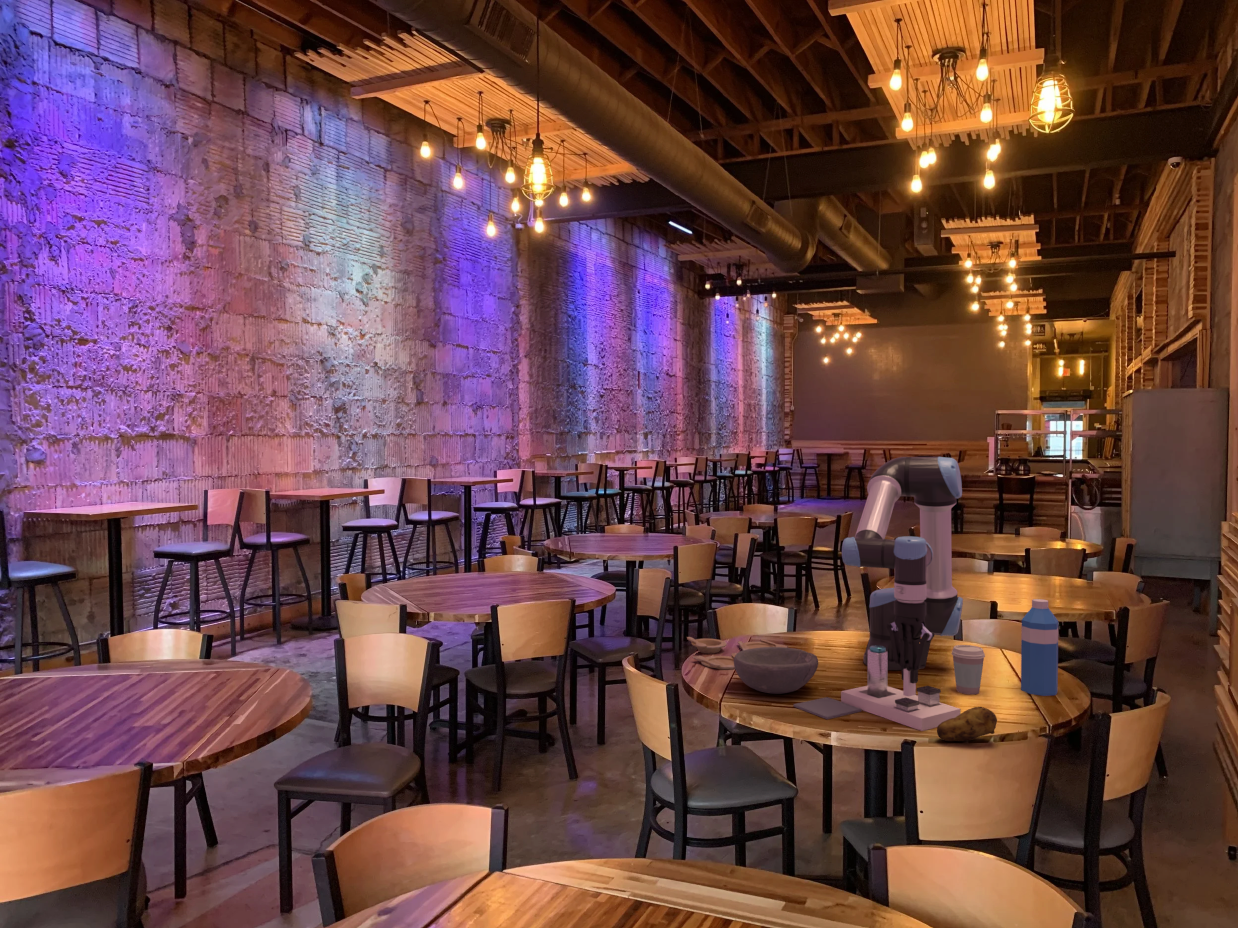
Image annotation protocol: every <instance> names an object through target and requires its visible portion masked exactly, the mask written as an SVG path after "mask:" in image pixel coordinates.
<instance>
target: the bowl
mask: <svg viewBox="0 0 1238 928" xmlns="http://www.w3.org/2000/svg"><path fill="white" fill-rule="evenodd" d="M736 653H737V654H736V655H735V657H734V667H735V669H734V670H735V672H736V675H738V677H739V679H740V680H741V681H742V682H743V683H744V684H745V685H746V686H748V687H750V688H751V689H753V690H756V691H758V692H761V693H766V694H774V695H775V694H776V695H777V694H779V695H782V694H789V693H792V692H796V691H798V690H799V689H801V688H803V686H805V685H806V684H808V683H809V681H810V680H811V679H812V678H813V676H814V675H815V673H817V670H818V668H819V659H818V656H817V655H815V654H814V653H811V652H808V651H806V650H803V649H799V648H792V647H787V648H785V647H761V648H753V649H747V650H741V651H738V652H736Z"/></svg>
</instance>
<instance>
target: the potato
mask: <svg viewBox="0 0 1238 928" xmlns="http://www.w3.org/2000/svg"><path fill="white" fill-rule="evenodd" d="M997 722H998V718H997V716H996V714H995V713H994V712H993V711H992V710H990V709H989V708H986V707H983V706H974V707H971V708H969V709H966V710H965V711H963V712H960V715H958V716H957V717H955V718H951V719H948V720H946V721H944V722H942V723H941V724H939V725H938V727H936V733H937V736H938V737H939V738H940V739H941V740H942V741H944V742H949V743H950V742H968V741H972V740H975V739H977V738H980V737H983V736H986V735H994V734H995V729H996V727H997Z"/></svg>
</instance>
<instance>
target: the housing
mask: <svg viewBox="0 0 1238 928" xmlns="http://www.w3.org/2000/svg"><path fill="white" fill-rule="evenodd" d="M901 698H909V699H913V700H916V701H918V694H916V695H913V696H909V697H908V696H905V695H903V690H901V689H898V688H895V687H892V686H889V685H887V697H882V698H876V697H873V696H870V695H867V685H865V686H859V687H856V688H855V687H854V688H850V689H845V690H842V691H840V702H843V703H846V704H849V705H851V706H854V707H857V708H860V709H861V711H863V712H866V713H870V714H873V715H875V716H878V717H881V718H883V719H884V718H885V719H886V720H890V721H893V722H895V723H898V724H901V725H903V726H905V727H906V726H907V727H910V728H912V729H915V730H918V731H921V732H923V731H927V730H931V729H935V728H937V727H938V725H939V724H941V723H942V722H944V721H946V720H948V719H951V718H955V717H957V716H958V715H960V714H961V708H959V707H955V706H952V705H949V704H946V703H943V702H940V701H939V703H937V704H933V705H928V704H924V703H921V702H919V705H918V710H917V711H913V712H909V713H908V712H905V711H902V710H899V709H896V703H895V700H897V699H901Z"/></svg>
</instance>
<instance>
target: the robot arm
mask: <svg viewBox="0 0 1238 928" xmlns="http://www.w3.org/2000/svg"><path fill="white" fill-rule="evenodd" d="M962 482H963V481H962V475H961V470H960V466H959V462H958V461H957V460H956V459H955V458H954V457H944V456H943V457H942V456H898V457H896V458H893V459H890V460H888V461H887V462H885V463H884V464H882V465H880V466H879V467H878V468H876V470H875V471H874V472H873V474H871V477H870V478H869V480H868V484H867V486H866V487H867V488H866V489H867V494H868V495H867V498H866V501H865V505H864V508H863V510H862V514H861V517H860V520H859V522H858V525H857V529H856V532H855V535H854V536H851V537H845V538H844V539H843V542H842V546H841V558H842V562H843V564H844V565H847V566H850V567H858V568H877V569H879V568H880V569H890V570H891V569H892V570H894V578H893V579H894V581H893V582H894V583H893V585H894V587H887V588H886V587H885V588H881V589H877V590H874V591H872V592H871V594H870V596H869V605H868V607H869V639H868V642H867V645H866V648H865V651H864V653H863V664H864V665H866V666H868V650H869V649H870V646H875V645H876V646H883V647H886V651H888V671H901V680H902V682H903V683H902V684H903V690H902V691H903V695H905V696H908V697H909V696H913V695H917V693H916V692H917V683H918V682H919V670H921V669H925V668H926V664H927V661H928V656H929V651H930V647H931V643H932V640H933V639H934V637H935V636H940V637H943V636H946V637H947V636H948V637H953V636H956V635H957V634H958V632H959V629H960V624H961V617H962V611H963V604H964V603H963V602H964V599H963V597H961V596H958V590H957V589H956V588H955V587H954V586H953V576H952V575H953V572H952V571H953V568H952V566H953V565H952V557H953V556H952V508H953V507H954V506H955V505H957V499H959V498H962V496H963V488H962V487H963V486H962V484H963V483H962ZM900 497H910V498H911V497H913V498H914V500H913V501H914V503H913V504H914V505H916V507H918V508H919V530H920V531H919V532H920V533H919V535H920V536H911V535H909V536H908V535H907V536H906V535H905V536H904V535H903V536H898V537H896V538H895V539H887V538H886V536H887V532H888V528H889V526H890V525H889V524H890V521H891V517H892V513H893V509H894V507H895V503H896V502H897V501H898V500H899V499H900Z"/></svg>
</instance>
